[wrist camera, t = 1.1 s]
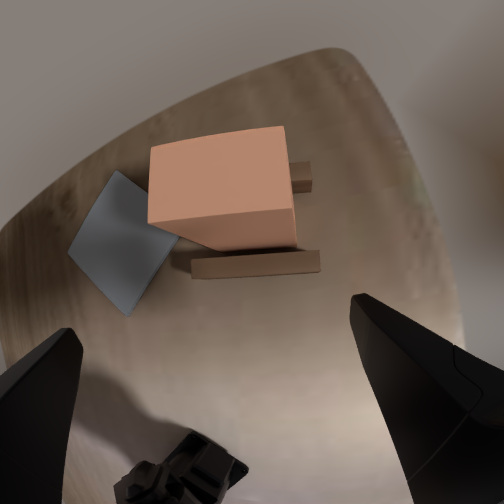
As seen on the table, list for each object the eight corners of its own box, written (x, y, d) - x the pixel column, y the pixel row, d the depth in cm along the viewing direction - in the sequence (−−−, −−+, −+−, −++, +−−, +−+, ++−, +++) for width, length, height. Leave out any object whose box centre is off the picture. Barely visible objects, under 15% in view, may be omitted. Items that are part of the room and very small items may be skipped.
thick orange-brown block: (297, 246, 23) (292, 207, 11) (221, 252, 24) (147, 223, 12) (293, 202, 23) (283, 125, 11) (220, 209, 24) (151, 147, 12)
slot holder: (318, 272, 22) (320, 270, 19) (204, 279, 24) (191, 278, 21) (309, 175, 23) (310, 161, 20) (202, 187, 25) (189, 175, 22)
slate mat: (129, 316, 24) (126, 316, 24) (69, 253, 26) (67, 252, 26) (188, 223, 24) (186, 222, 24) (118, 171, 26) (116, 169, 26)
